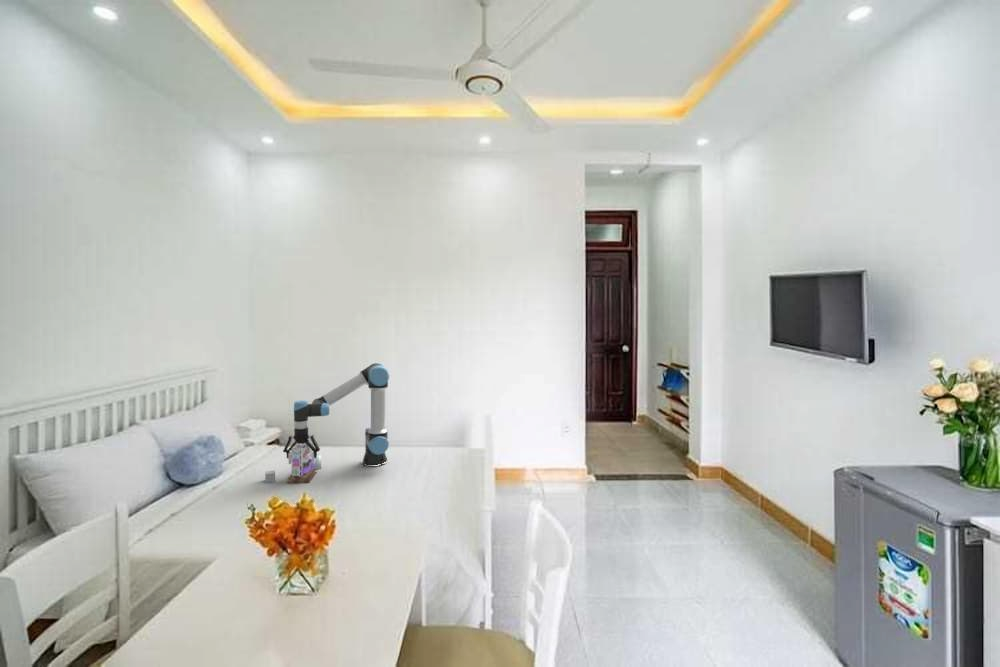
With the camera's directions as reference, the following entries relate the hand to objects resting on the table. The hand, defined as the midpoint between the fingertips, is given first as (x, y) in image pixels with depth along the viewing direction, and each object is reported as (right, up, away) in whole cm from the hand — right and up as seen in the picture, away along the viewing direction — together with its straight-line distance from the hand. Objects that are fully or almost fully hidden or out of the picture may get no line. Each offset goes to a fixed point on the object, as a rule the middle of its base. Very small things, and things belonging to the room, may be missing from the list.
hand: (301, 463), depth 297 cm
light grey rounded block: (+1, -8, +18) cm, 19 cm away
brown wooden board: (0, -9, +1) cm, 9 cm away
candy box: (0, -6, 0) cm, 6 cm away
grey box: (-17, -9, -4) cm, 19 cm away
